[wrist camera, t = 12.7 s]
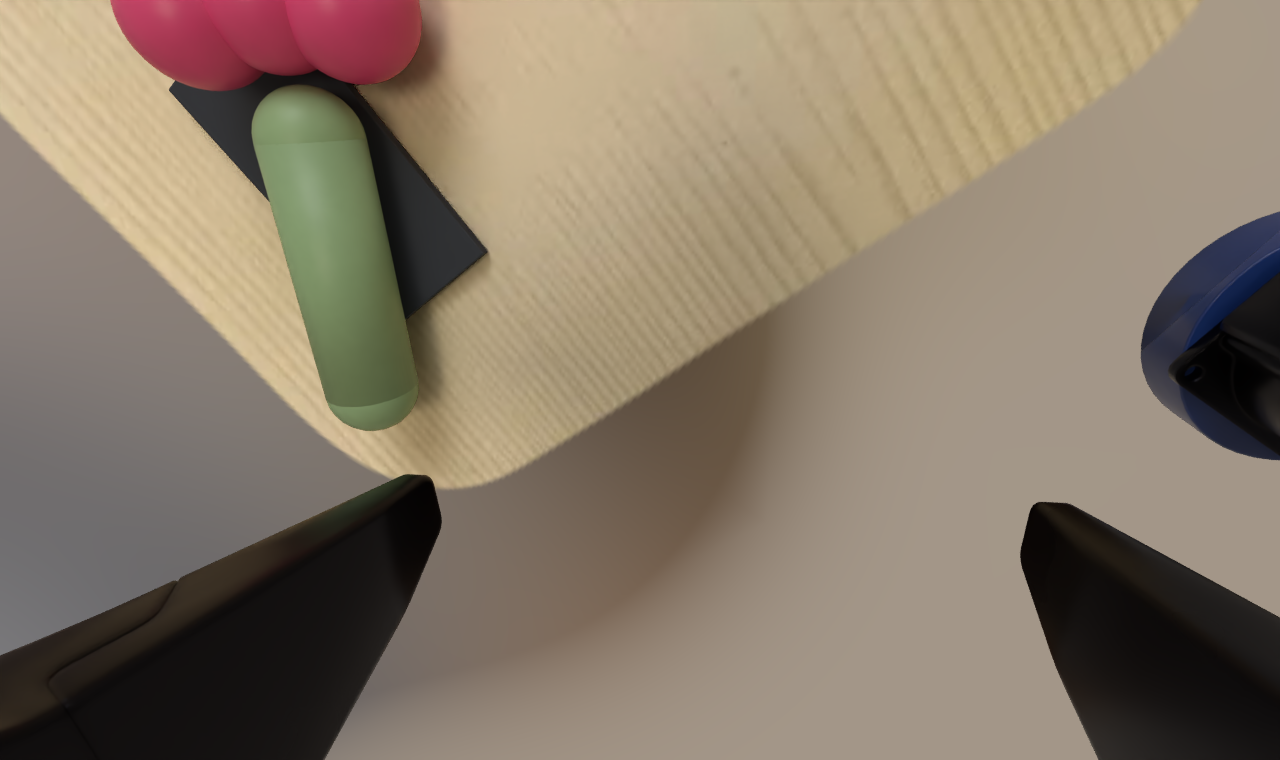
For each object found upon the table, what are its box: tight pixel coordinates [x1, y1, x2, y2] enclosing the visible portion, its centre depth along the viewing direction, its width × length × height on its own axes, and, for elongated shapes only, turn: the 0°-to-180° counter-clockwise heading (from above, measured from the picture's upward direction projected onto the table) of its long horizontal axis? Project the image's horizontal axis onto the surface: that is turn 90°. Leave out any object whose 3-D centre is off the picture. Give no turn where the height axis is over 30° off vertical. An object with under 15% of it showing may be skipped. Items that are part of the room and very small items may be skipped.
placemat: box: [169, 69, 487, 320], centre depth 20 cm, size 10×5×1 cm, turn 37°
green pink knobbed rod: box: [111, 0, 422, 431], centre depth 18 cm, size 15×8×4 cm, turn 2°
